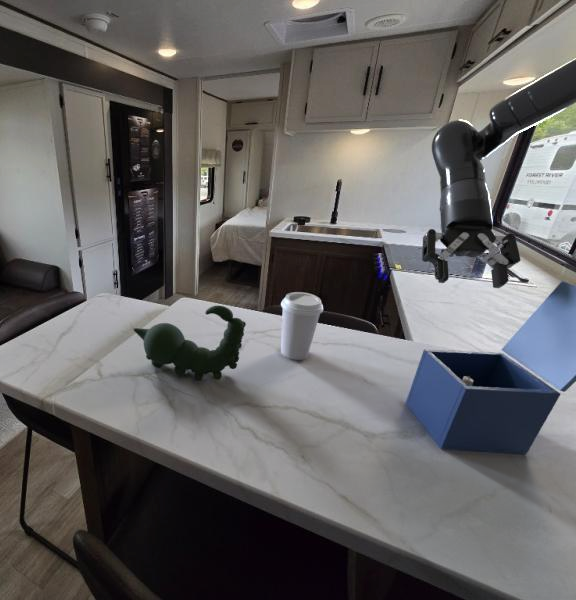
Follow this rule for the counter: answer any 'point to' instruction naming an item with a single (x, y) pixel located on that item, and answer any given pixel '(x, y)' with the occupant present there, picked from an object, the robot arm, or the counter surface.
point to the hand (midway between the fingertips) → (471, 283)
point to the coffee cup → (299, 323)
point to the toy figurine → (194, 347)
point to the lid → (549, 339)
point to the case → (479, 401)
